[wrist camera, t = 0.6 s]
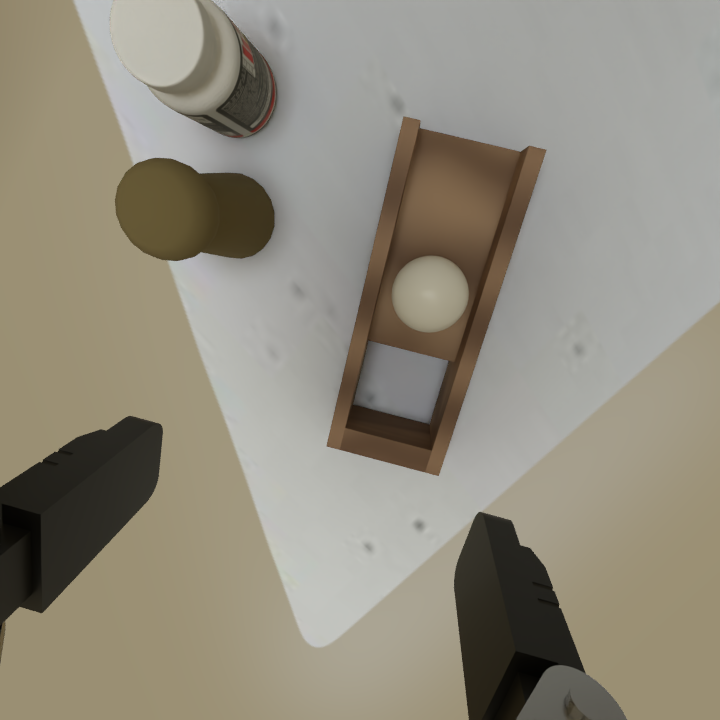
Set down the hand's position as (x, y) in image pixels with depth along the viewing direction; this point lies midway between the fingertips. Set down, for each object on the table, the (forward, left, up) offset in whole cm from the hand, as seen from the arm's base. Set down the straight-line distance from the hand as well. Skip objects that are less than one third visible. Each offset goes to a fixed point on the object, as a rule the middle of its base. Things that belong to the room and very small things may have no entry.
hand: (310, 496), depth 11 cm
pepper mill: (-5, -12, -24) cm, 27 cm away
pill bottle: (-13, -13, -24) cm, 30 cm away
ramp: (-2, +3, -23) cm, 24 cm away
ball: (-3, +3, -19) cm, 19 cm away
